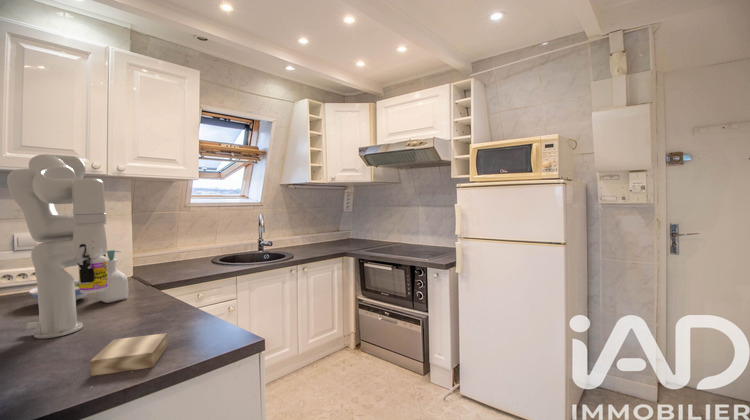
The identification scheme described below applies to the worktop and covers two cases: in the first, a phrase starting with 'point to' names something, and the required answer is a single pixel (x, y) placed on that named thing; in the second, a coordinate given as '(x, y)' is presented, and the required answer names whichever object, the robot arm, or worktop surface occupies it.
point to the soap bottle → (114, 282)
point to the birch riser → (129, 354)
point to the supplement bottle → (96, 276)
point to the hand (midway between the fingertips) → (93, 278)
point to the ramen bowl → (77, 291)
